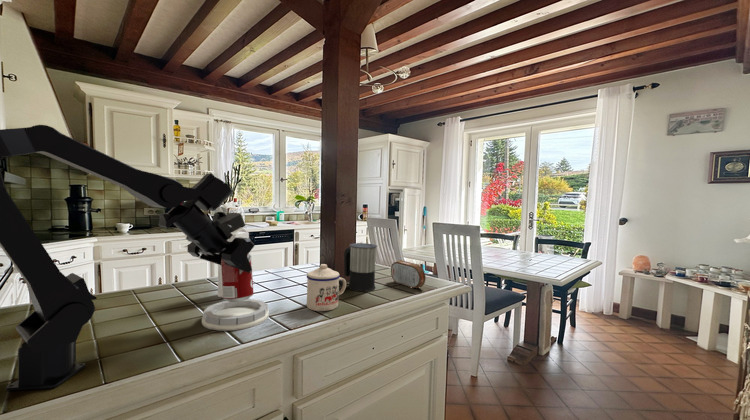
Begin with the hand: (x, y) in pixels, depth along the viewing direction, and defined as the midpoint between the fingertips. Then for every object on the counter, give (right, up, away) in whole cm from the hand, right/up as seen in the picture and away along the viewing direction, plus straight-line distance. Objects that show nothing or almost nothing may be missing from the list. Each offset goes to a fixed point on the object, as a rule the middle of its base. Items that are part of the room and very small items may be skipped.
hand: (241, 269), depth 78 cm
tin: (+44, -12, +34) cm, 57 cm away
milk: (-10, -11, +17) cm, 23 cm away
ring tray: (-1, -12, -1) cm, 12 cm away
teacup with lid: (+19, -12, +11) cm, 25 cm away
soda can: (0, -7, -2) cm, 7 cm away
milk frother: (+25, -12, +28) cm, 39 cm away
